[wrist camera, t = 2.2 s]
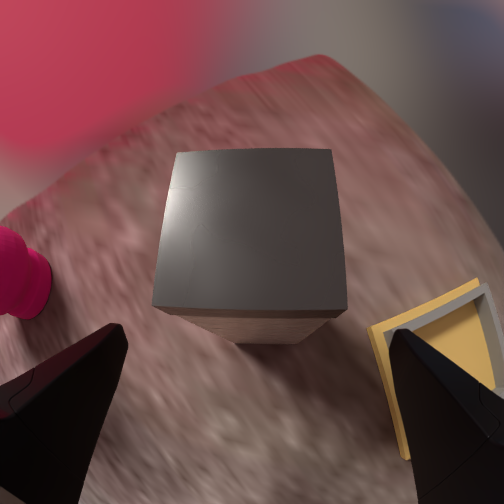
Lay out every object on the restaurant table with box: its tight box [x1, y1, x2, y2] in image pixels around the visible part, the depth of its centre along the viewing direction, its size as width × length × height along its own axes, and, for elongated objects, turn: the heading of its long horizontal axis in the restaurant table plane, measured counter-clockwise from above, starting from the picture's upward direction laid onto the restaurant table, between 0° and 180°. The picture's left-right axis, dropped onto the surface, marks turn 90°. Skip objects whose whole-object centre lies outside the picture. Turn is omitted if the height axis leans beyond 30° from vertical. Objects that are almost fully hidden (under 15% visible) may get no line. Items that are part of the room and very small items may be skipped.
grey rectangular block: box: [152, 148, 348, 344], centre depth 13 cm, size 4×4×13 cm
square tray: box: [366, 278, 504, 460], centre depth 15 cm, size 10×10×3 cm
